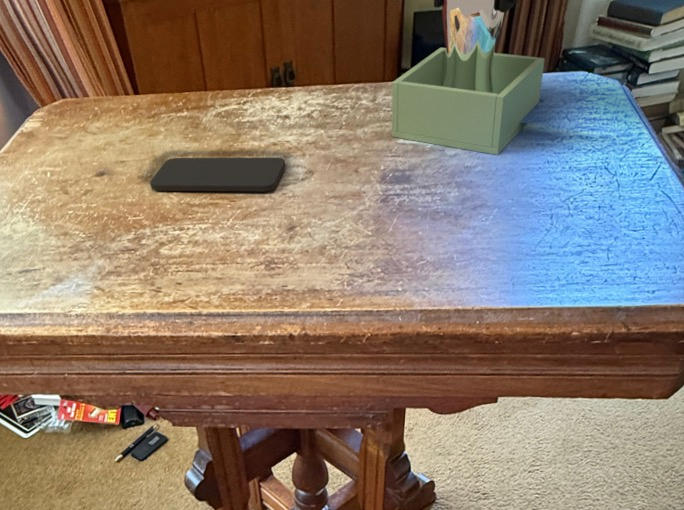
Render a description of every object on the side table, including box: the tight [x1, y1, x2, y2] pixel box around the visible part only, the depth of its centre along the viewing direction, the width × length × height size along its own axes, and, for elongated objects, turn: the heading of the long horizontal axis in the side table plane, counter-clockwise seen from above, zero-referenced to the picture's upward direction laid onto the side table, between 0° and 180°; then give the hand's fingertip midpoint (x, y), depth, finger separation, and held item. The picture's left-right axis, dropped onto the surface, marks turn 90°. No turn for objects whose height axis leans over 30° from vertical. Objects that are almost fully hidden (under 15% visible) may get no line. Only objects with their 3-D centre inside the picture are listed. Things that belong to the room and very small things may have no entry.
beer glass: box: [441, 0, 505, 93], centre depth 83 cm, size 7×7×15 cm
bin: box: [391, 47, 546, 156], centre depth 88 cm, size 14×14×7 cm
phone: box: [149, 157, 286, 192], centre depth 84 cm, size 7×1×15 cm
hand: (473, 5), depth 81 cm, fingers closed on beer glass, 7 cm apart
